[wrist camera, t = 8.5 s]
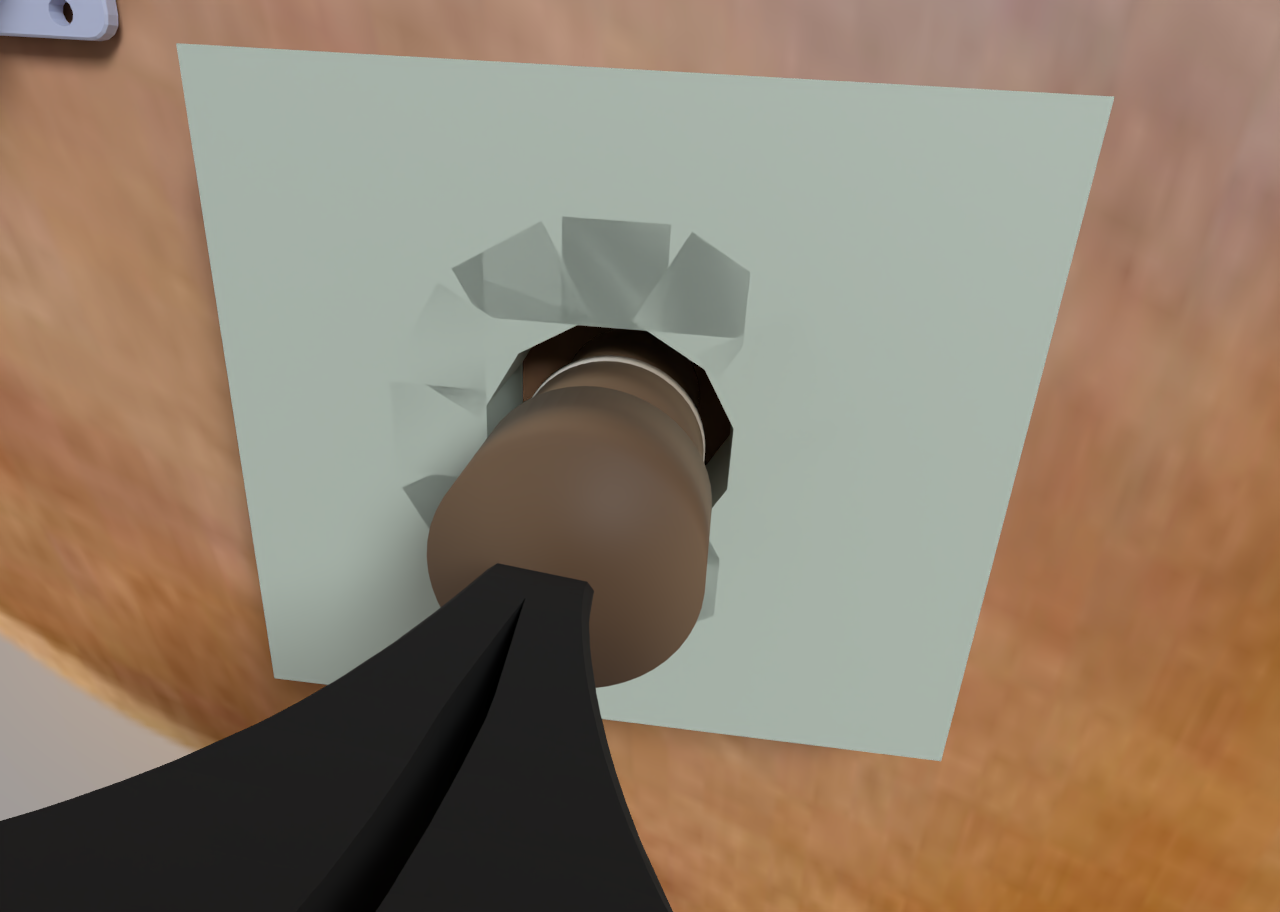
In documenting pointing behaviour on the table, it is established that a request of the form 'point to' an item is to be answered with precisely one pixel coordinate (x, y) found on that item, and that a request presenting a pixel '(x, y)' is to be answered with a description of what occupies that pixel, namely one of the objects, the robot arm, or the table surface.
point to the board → (668, 309)
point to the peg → (594, 499)
